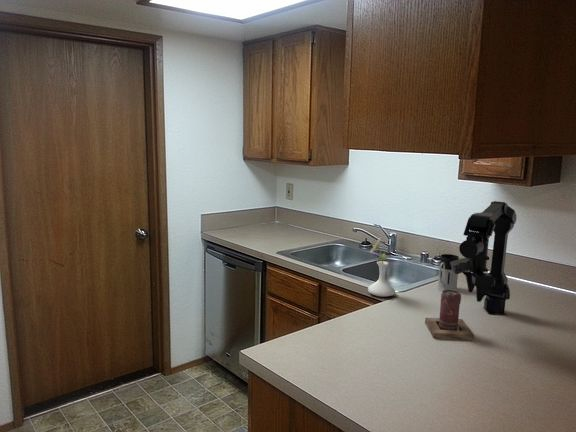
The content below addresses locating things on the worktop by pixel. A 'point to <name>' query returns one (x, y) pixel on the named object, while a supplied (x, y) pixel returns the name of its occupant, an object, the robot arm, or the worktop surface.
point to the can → (449, 310)
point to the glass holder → (447, 273)
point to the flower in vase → (381, 277)
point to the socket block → (461, 334)
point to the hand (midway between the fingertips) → (474, 296)
